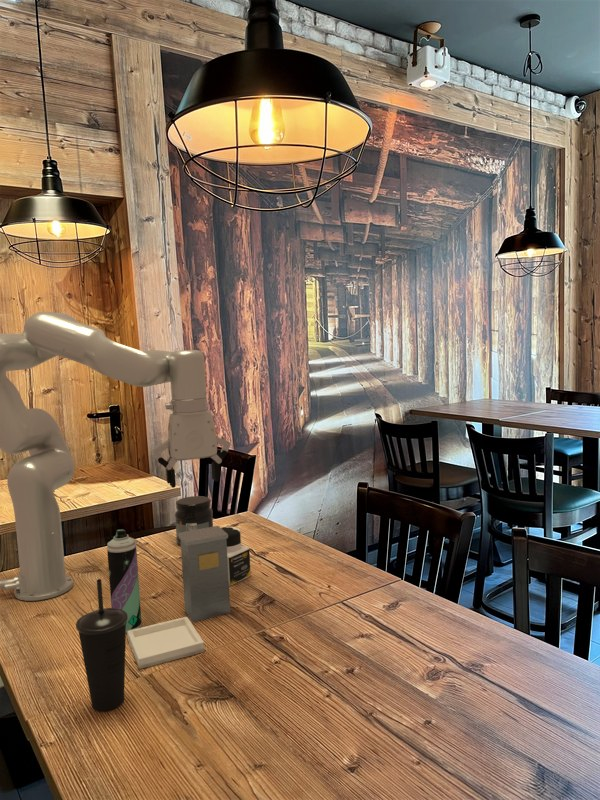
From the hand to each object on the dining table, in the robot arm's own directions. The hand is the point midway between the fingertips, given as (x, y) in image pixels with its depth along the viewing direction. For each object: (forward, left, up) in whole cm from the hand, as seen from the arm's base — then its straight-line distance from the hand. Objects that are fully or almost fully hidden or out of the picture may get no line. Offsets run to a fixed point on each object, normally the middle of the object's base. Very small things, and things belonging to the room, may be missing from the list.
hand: (194, 483), depth 131 cm
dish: (-13, -20, -25) cm, 34 cm away
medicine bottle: (+8, +4, -25) cm, 27 cm away
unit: (-2, -11, -25) cm, 27 cm away
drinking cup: (-25, -33, -25) cm, 48 cm away
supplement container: (+8, +34, -25) cm, 43 cm away
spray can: (-18, -9, -25) cm, 32 cm away
